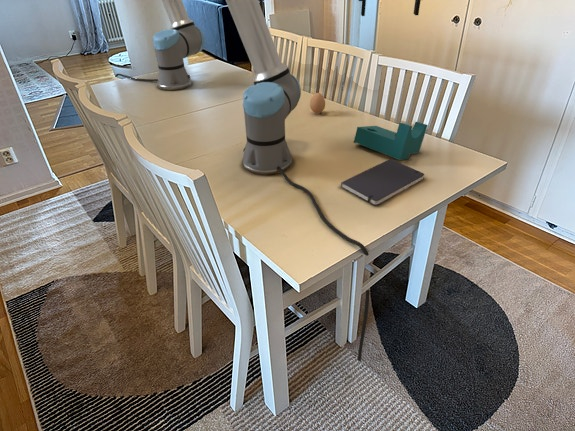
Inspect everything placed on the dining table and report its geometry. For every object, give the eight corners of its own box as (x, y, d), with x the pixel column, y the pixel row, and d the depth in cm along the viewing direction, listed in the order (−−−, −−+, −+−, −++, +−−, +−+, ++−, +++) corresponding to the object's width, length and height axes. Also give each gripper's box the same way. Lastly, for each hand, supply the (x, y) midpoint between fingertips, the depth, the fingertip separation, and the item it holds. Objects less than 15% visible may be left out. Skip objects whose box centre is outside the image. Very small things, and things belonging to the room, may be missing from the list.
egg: (314, 117, 155) (314, 96, 150) (307, 111, 159) (307, 91, 155) (327, 114, 157) (328, 94, 152) (320, 109, 161) (320, 89, 157)
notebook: (389, 163, 124) (340, 187, 113) (390, 158, 123) (341, 182, 112) (424, 178, 116) (375, 206, 105) (425, 174, 115) (376, 201, 104)
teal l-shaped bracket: (417, 156, 130) (427, 124, 125) (399, 160, 122) (409, 126, 118) (372, 139, 141) (380, 110, 136) (353, 141, 133) (361, 110, 129)
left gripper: (221, -26, 157) (227, 38, 171) (267, -26, 156) (270, 38, 169) (225, -27, 163) (231, 34, 177) (269, -28, 162) (272, 34, 176)
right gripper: (346, -86, 90) (341, 18, 103) (461, -90, 89) (441, 16, 101) (345, -86, 96) (340, 12, 109) (452, -89, 95) (434, 11, 107)
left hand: (250, 36), depth 173 cm, fingers closed on brick, 5 cm apart
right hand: (389, 15), depth 105 cm, fingers open, 13 cm apart
